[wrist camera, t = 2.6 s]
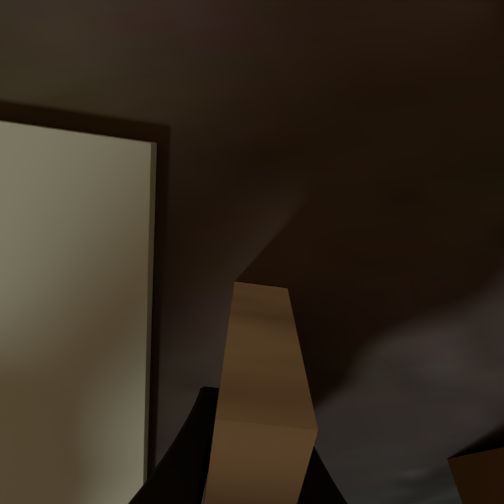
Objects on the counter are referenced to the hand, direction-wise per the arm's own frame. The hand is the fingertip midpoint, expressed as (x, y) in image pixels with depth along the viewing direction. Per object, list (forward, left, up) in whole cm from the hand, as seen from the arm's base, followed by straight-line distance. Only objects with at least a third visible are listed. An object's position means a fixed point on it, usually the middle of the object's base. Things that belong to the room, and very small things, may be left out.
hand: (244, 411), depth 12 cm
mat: (0, +11, -2) cm, 11 cm away
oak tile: (0, 0, -2) cm, 2 cm away
